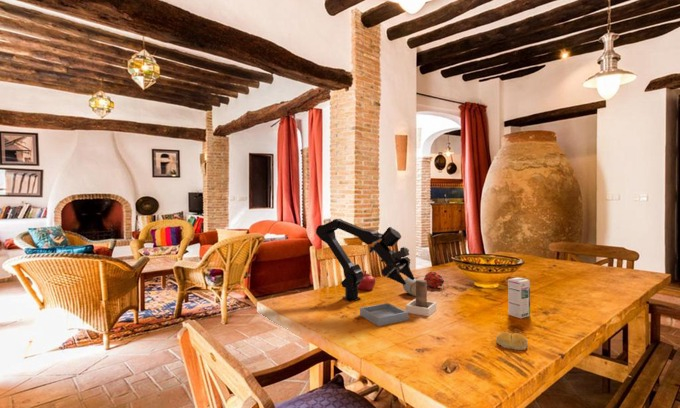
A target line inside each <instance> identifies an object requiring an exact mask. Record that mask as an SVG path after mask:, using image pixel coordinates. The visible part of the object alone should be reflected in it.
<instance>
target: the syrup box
mask: <svg viewBox="0 0 680 408" xmlns="http://www.w3.org/2000/svg"><path fill="white" fill-rule="evenodd" d="M507 293H508V294H507V297H508V301H507V302H508V303H507V304H508V306H507V307H508V308H507V309H508V315H509V316H512V317H514V318H518V319H523V318H528V317H531V280H530V279H528V278H523V277H513V278H508V279H507Z"/></svg>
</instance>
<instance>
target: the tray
mask: <svg viewBox="0 0 680 408" xmlns="http://www.w3.org/2000/svg"><path fill="white" fill-rule="evenodd" d="M359 316H361V317H362V318H364V319H366V320H368V321H369V322H371V323H372V324H374V325H375V326H377V327H380V326H381V327H383V326H385V325H387V326H388V325H391V324H394V323H400V322H405V321H409V313H408V312H407V311H406V310H404V309H403V308H400V307H398V306H396V305H394V304H391V303H390V302H386V303H380V304H379V303H378V304H375V305H369V306H363V307H360V308H359Z"/></svg>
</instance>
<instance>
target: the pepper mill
mask: <svg viewBox="0 0 680 408" xmlns="http://www.w3.org/2000/svg"><path fill="white" fill-rule="evenodd" d="M427 287H428V286H427V281H426V280H424V279H416V296H415V299H416V306H418V307H424V308H427V301H428V297H427V294H428V290H427Z"/></svg>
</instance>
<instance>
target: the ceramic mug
mask: <svg viewBox="0 0 680 408" xmlns="http://www.w3.org/2000/svg"><path fill="white" fill-rule="evenodd" d="M404 280H405V282H406V284H405V285H403V284H402V288H403V290H404V291H405V292H406V293H408V294H409V295H410V296H412V297H413V296H414V297H416V280H417V279H416V278H415V277H414V280H411V279H410V278H408V277H406V278H404Z"/></svg>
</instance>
